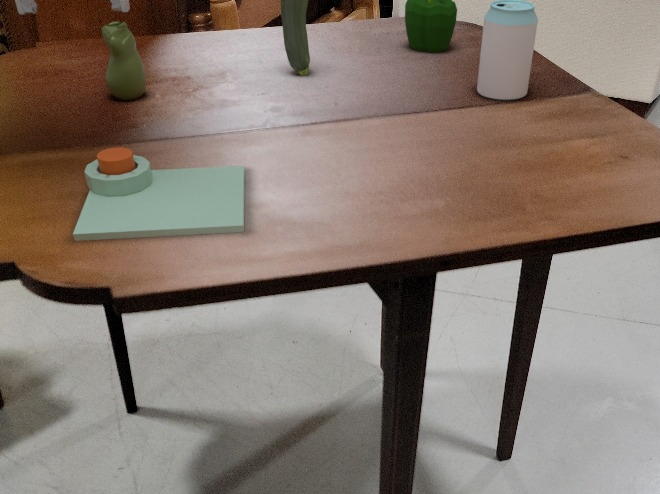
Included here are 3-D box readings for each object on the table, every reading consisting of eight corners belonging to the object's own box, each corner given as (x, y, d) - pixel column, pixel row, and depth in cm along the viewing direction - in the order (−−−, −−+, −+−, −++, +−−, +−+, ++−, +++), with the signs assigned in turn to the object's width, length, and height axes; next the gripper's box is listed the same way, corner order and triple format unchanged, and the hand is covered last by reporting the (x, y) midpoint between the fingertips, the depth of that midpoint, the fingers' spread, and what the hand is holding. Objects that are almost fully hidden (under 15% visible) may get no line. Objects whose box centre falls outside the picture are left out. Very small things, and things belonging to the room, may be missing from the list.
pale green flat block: (72, 245, 70) (65, 216, 68) (96, 181, 81) (90, 155, 79) (244, 236, 71) (241, 208, 69) (244, 174, 82) (242, 149, 80)
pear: (154, 102, 101) (141, 24, 95) (115, 108, 99) (99, 29, 92) (142, 90, 105) (129, 15, 98) (105, 96, 102) (89, 20, 96)
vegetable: (281, 79, 109) (272, -76, 96) (287, 70, 112) (279, -81, 100) (310, 80, 108) (305, -75, 96) (316, 72, 112) (311, -80, 99)
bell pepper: (398, 44, 124) (400, -21, 117) (445, 42, 125) (450, -23, 119) (410, 59, 117) (413, -10, 111) (459, 56, 118) (465, -12, 112)
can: (480, 104, 101) (490, 10, 93) (472, 87, 106) (481, -3, 99) (531, 104, 101) (545, 10, 93) (520, 87, 106) (533, -3, 99)
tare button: (97, 177, 75) (94, 161, 74) (103, 163, 78) (99, 147, 77) (133, 176, 76) (130, 160, 75) (137, 162, 78) (134, 146, 77)
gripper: (-95, -147, 64) (-39, 22, 72) (141, -151, 64) (169, 17, 73) (-65, -153, 69) (-17, 6, 77) (154, -156, 69) (178, 2, 78)
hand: (75, 12), depth 75 cm, fingers open, 8 cm apart
